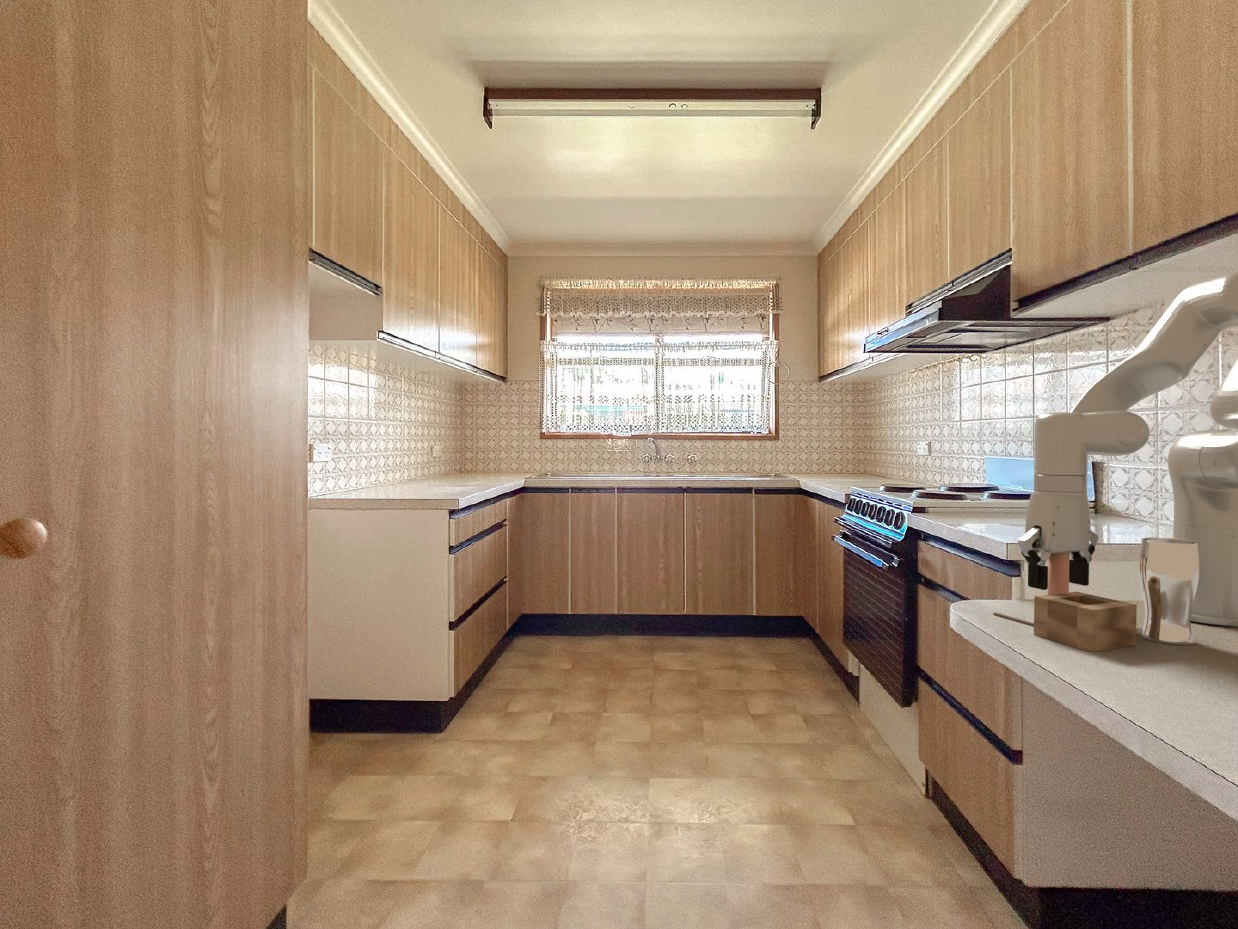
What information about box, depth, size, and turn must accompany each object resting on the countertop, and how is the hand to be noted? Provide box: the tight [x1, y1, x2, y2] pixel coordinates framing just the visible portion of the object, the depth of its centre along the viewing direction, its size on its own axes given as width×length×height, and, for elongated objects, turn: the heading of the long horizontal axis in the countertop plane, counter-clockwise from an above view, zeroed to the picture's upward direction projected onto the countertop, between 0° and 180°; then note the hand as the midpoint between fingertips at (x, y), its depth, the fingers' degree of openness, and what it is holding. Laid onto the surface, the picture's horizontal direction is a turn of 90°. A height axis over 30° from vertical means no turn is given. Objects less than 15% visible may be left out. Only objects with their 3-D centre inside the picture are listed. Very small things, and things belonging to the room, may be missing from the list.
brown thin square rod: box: [992, 612, 1034, 627], centre depth 109 cm, size 1×10×1 cm, turn 19°
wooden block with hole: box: [1033, 591, 1138, 653], centre depth 99 cm, size 9×9×6 cm
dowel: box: [1047, 552, 1070, 595], centre depth 113 cm, size 3×3×12 cm
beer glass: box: [1138, 536, 1199, 646], centre depth 99 cm, size 7×7×15 cm
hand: (1058, 586), depth 113 cm, fingers open, 9 cm apart
